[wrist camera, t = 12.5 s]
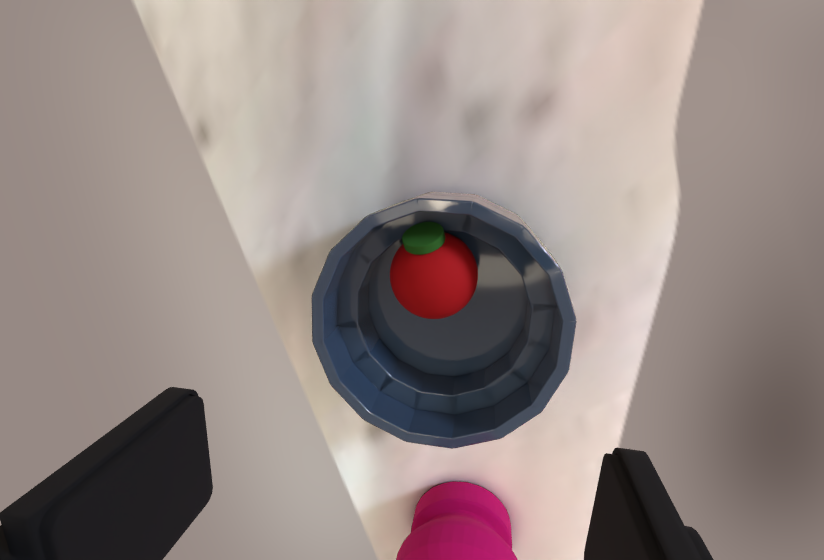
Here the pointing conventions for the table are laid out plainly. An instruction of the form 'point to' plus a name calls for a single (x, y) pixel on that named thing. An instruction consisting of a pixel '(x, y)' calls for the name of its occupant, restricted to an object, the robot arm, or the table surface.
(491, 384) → the bowl
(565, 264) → the table surface
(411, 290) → the strawberry
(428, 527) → the pepper mill
